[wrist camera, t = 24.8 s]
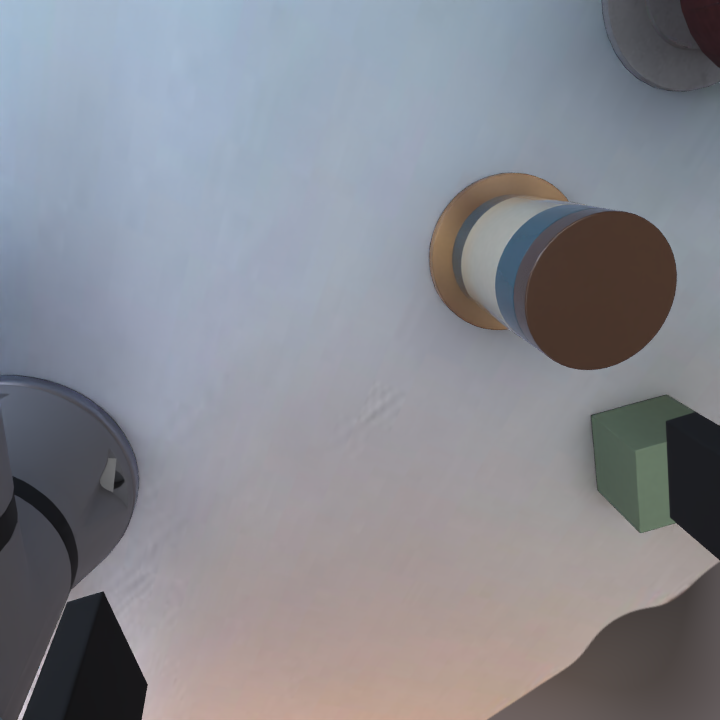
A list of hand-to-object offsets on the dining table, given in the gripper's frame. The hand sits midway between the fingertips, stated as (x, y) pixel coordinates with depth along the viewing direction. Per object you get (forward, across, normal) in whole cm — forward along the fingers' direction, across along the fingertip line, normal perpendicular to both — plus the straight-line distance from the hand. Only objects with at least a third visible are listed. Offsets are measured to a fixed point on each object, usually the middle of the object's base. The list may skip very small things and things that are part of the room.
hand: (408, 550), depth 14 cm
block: (+28, +22, -19) cm, 41 cm away
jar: (+26, +14, -6) cm, 31 cm away
